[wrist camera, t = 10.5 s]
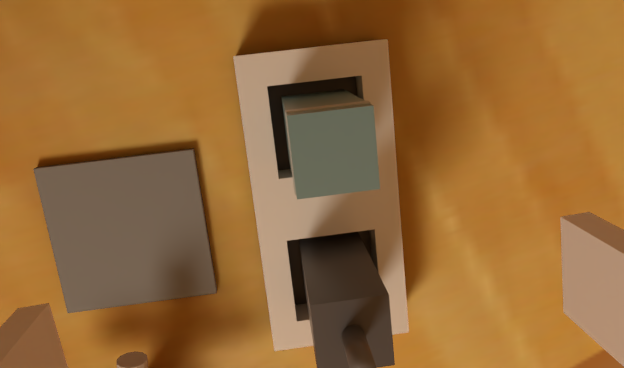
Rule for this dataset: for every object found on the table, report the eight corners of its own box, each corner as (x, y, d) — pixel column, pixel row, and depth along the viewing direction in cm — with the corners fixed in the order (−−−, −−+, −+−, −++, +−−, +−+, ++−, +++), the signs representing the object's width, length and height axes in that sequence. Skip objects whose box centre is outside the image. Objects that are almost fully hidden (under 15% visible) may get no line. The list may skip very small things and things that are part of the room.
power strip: (236, 55, 35) (232, 56, 32) (377, 39, 35) (389, 39, 32) (273, 328, 40) (274, 355, 36) (398, 311, 40) (410, 336, 37)
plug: (280, 95, 35) (285, 114, 25) (344, 88, 35) (374, 104, 26) (287, 159, 36) (296, 200, 26) (350, 151, 36) (381, 189, 27)
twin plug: (298, 238, 37) (315, 335, 25) (357, 230, 38) (403, 323, 25) (305, 292, 38) (324, 412, 26) (362, 285, 39) (409, 400, 26)
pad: (36, 167, 36) (33, 169, 35) (193, 148, 36) (192, 149, 36) (70, 309, 38) (67, 313, 38) (217, 290, 39) (216, 293, 38)
